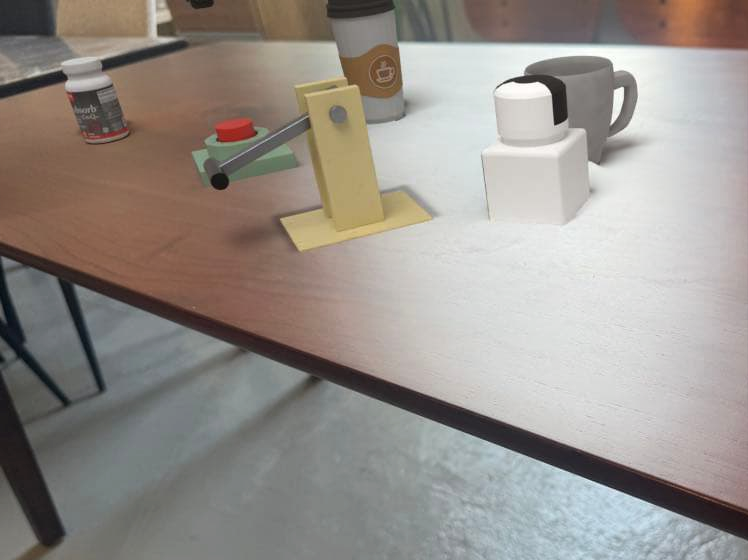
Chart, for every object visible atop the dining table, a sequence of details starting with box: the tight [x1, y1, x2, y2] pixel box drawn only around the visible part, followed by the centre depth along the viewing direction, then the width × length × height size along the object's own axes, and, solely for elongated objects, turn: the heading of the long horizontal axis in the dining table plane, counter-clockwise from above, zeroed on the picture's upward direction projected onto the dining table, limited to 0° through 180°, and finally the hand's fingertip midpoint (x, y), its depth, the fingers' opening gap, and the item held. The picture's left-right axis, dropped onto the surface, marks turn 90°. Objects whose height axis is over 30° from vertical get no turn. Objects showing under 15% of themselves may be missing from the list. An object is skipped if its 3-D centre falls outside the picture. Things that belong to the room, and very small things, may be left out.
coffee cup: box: [325, 0, 406, 125], centre depth 107 cm, size 8×8×15 cm
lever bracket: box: [279, 75, 433, 254], centre depth 75 cm, size 12×9×13 cm
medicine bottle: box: [480, 75, 591, 227], centre depth 74 cm, size 7×7×12 cm
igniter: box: [190, 126, 298, 188], centre depth 96 cm, size 10×9×4 cm
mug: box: [523, 55, 639, 165], centre depth 87 cm, size 12×9×10 cm
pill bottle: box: [60, 56, 130, 144], centre depth 113 cm, size 6×6×10 cm
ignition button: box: [214, 117, 256, 143], centre depth 95 cm, size 4×4×2 cm
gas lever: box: [203, 85, 338, 191], centre depth 72 cm, size 13×5×2 cm, turn 115°
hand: (199, 3), depth 88 cm, fingers open, 5 cm apart
